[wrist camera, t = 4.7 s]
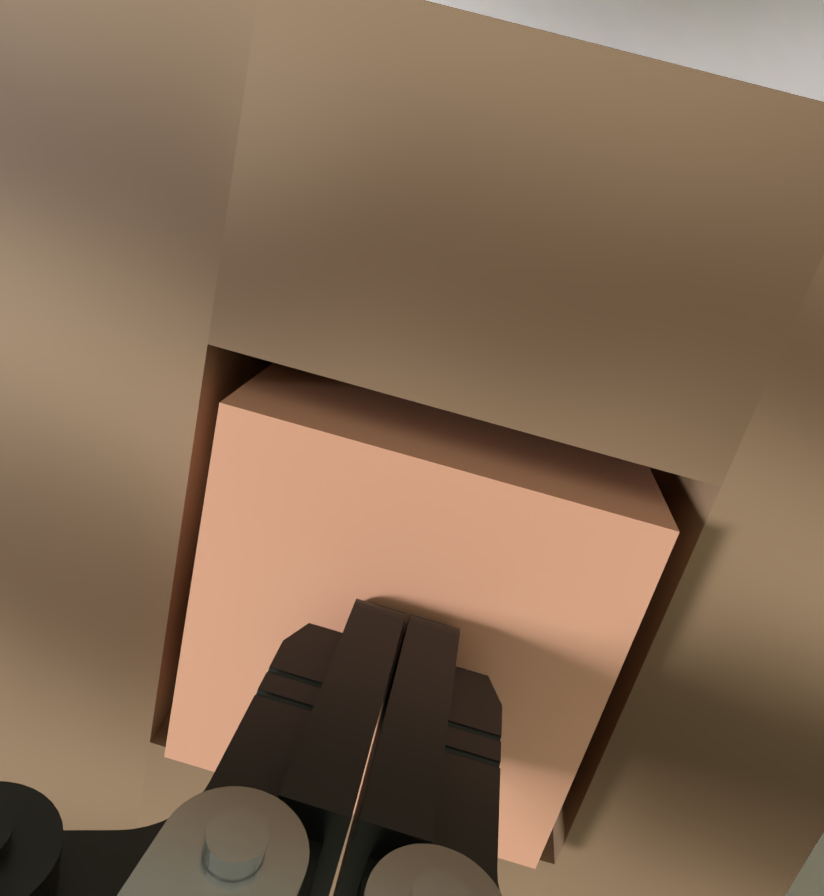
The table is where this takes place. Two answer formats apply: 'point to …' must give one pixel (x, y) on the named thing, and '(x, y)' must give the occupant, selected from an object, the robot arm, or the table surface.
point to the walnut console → (415, 372)
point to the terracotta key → (420, 566)
